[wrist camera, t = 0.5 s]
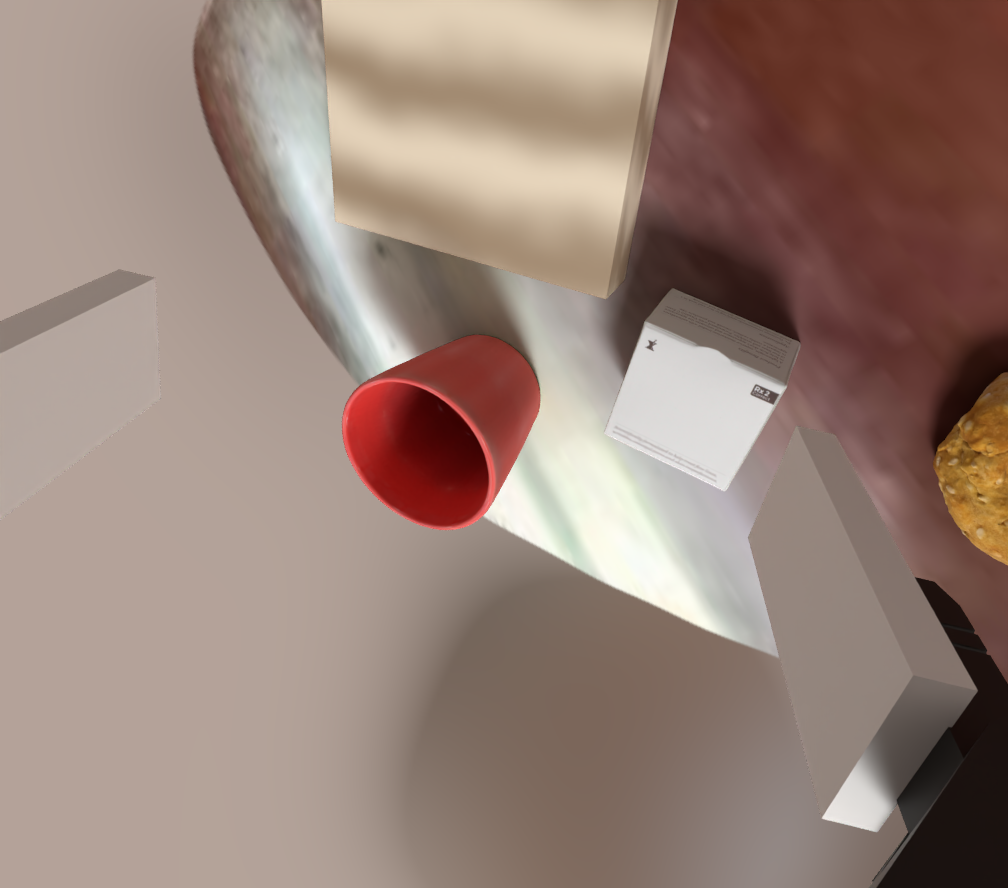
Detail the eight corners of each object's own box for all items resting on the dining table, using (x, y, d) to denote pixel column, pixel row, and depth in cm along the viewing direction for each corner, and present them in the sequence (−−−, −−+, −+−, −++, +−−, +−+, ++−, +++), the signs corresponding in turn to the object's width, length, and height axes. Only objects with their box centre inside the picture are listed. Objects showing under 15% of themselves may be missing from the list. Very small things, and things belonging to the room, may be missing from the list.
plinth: (350, -146, 37) (312, -151, 35) (699, -114, 31) (679, -117, 29) (364, 207, 48) (335, 221, 46) (624, 279, 42) (606, 299, 40)
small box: (628, 393, 46) (598, 434, 43) (672, 283, 41) (643, 318, 38) (745, 448, 45) (725, 496, 41) (806, 340, 40) (790, 384, 36)
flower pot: (403, 318, 51) (313, 381, 44) (541, 304, 46) (463, 374, 39) (448, 449, 56) (373, 525, 49) (578, 451, 50) (515, 537, 43)
